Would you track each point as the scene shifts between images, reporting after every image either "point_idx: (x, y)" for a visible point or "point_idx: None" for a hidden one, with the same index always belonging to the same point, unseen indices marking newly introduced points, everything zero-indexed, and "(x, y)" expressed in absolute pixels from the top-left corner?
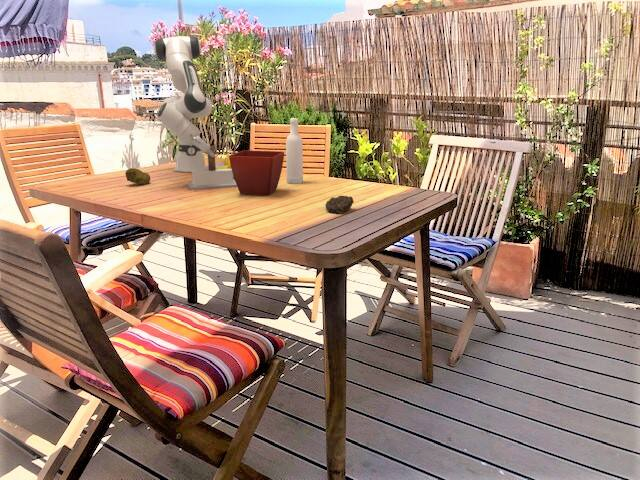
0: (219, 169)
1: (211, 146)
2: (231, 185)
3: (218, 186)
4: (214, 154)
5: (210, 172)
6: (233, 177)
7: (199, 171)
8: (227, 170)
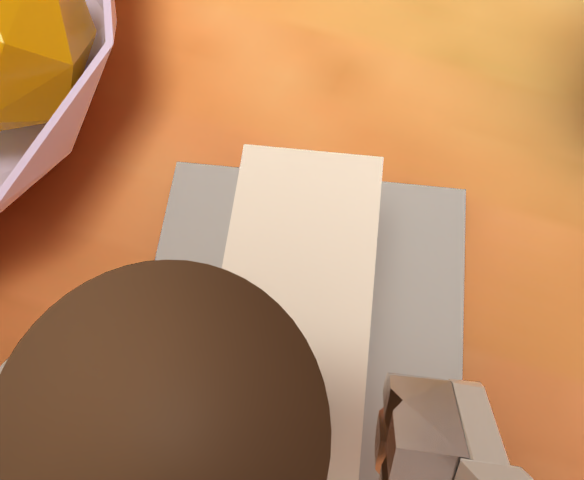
0: None
1: (325, 446)
2: (463, 267)
3: None
4: (485, 398)
5: (357, 472)
6: (34, 126)
7: None
8: (372, 221)
